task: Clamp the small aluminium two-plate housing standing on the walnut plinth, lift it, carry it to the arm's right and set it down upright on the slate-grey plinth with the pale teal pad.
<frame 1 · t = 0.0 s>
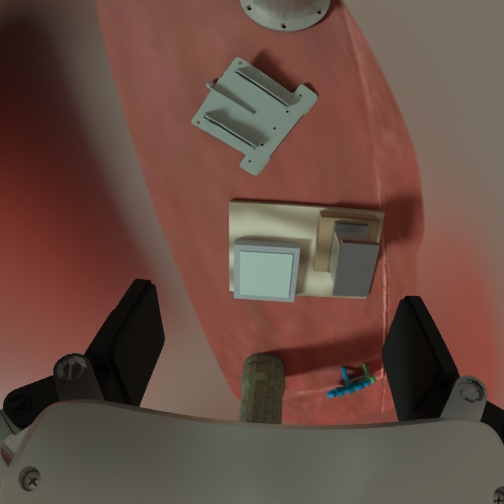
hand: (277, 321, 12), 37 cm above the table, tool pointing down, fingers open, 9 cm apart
gear: (348, 373, 65), on the table
metal bracket: (250, 110, 42), on the table
housing: (346, 247, 46), point 3 cm above the table, touching stand
stand: (343, 239, 49), resting on board
thermos: (264, 365, 65), on the table
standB: (265, 268, 52), resting on board
board: (304, 251, 51), on the table
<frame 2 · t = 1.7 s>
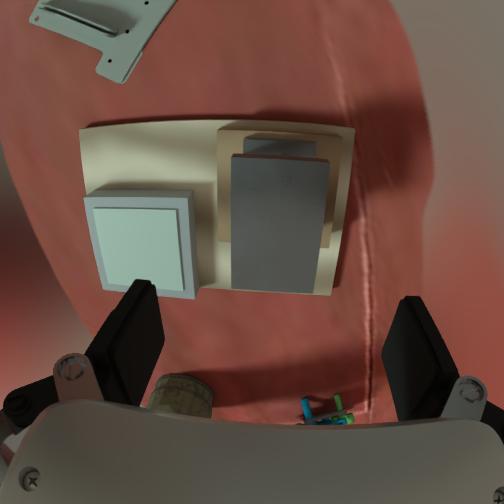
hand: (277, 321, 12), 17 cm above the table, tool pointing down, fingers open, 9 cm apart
gear: (314, 406, 42), on the table
housing: (277, 191, 23), point 3 cm above the table, touching stand
stand: (277, 182, 26), resting on board
thermos: (185, 390, 42), on the table
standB: (146, 239, 29), resting on board
board: (208, 208, 28), on the table
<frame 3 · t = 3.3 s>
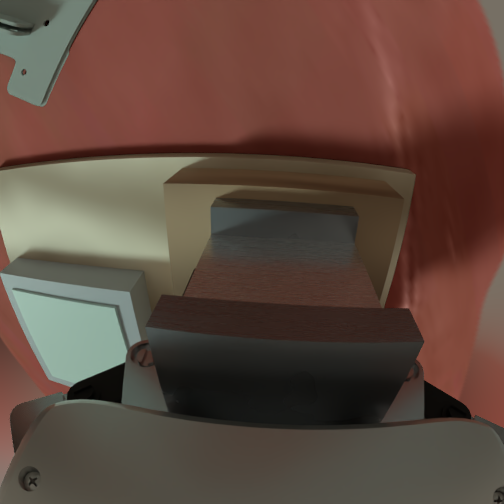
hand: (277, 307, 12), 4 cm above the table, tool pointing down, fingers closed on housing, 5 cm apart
housing: (277, 293, 13), point 3 cm above the table, touching gripper, stand
stand: (278, 263, 15), resting on board
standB: (90, 328, 19), resting on board
board: (170, 292, 18), on the table
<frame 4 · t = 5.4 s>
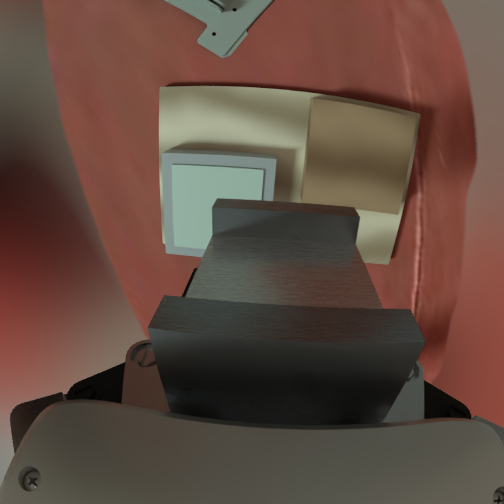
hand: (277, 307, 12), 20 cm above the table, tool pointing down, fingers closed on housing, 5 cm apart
housing: (279, 293, 13), point 19 cm above the table, touching gripper
stand: (354, 153, 27), resting on board
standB: (219, 202, 30), resting on board
board: (285, 174, 29), on the table
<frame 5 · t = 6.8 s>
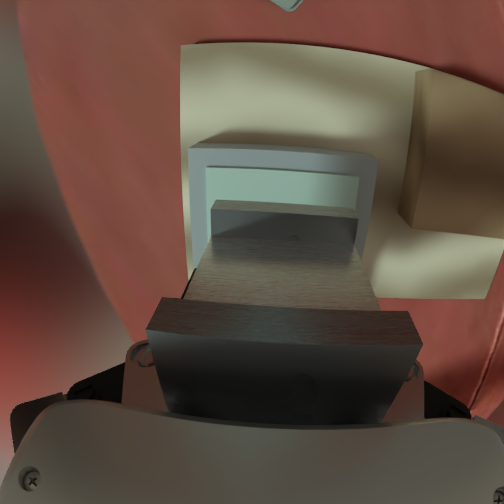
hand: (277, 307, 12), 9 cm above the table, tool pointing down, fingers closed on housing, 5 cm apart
housing: (277, 294, 13), point 8 cm above the table, touching gripper
stand: (467, 155, 16), resting on board
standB: (278, 225, 20), resting on board
board: (375, 183, 19), on the table
when the fingers open (5 cm above the table, at t = 7.8 s): housing drops 1 cm, resting on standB.
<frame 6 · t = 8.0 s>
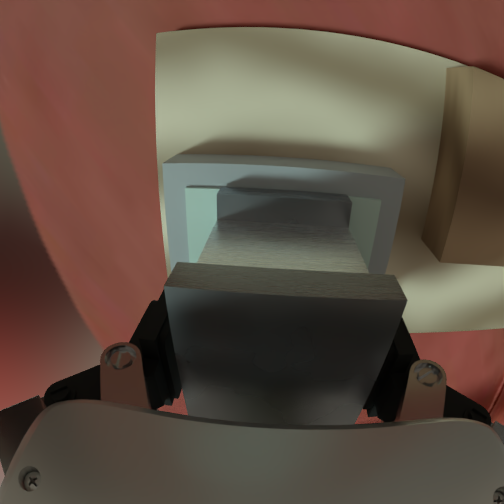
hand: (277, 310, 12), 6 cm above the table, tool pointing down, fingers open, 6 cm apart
housing: (278, 276, 14), point 3 cm above the table, touching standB
stand: (501, 171, 13), resting on board
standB: (278, 255, 16), resting on board
board: (395, 202, 15), on the table
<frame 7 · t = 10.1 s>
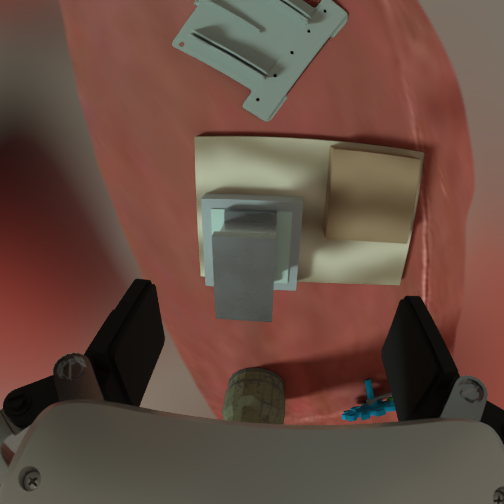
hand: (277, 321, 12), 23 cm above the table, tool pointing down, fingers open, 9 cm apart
gear: (371, 389, 46), on the table
metal bracket: (256, 34, 27), on the table
housing: (250, 246, 33), point 3 cm above the table, touching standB
stand: (368, 192, 31), resting on board
thermos: (257, 385, 46), on the table
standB: (252, 239, 35), resting on board
board: (309, 212, 34), on the table
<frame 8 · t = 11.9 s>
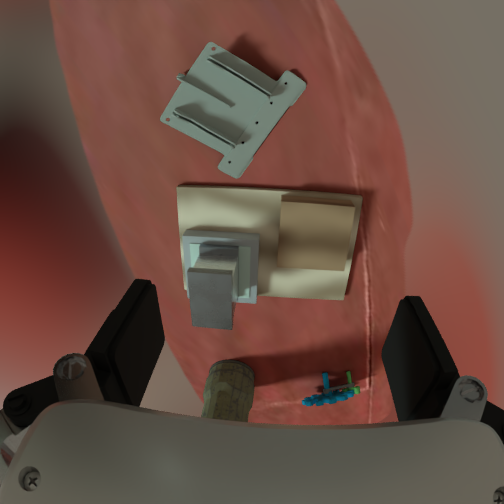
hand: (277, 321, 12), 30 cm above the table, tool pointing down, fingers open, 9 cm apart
gear: (329, 380, 57), on the table
metal bracket: (229, 103, 36), on the table
housing: (220, 271, 43), point 3 cm above the table, touching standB
stand: (313, 230, 41), resting on board
thermos: (232, 373, 58), on the table
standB: (222, 263, 45), resting on board
board: (266, 244, 44), on the table
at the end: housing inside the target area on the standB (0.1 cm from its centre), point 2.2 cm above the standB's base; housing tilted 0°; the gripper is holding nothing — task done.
